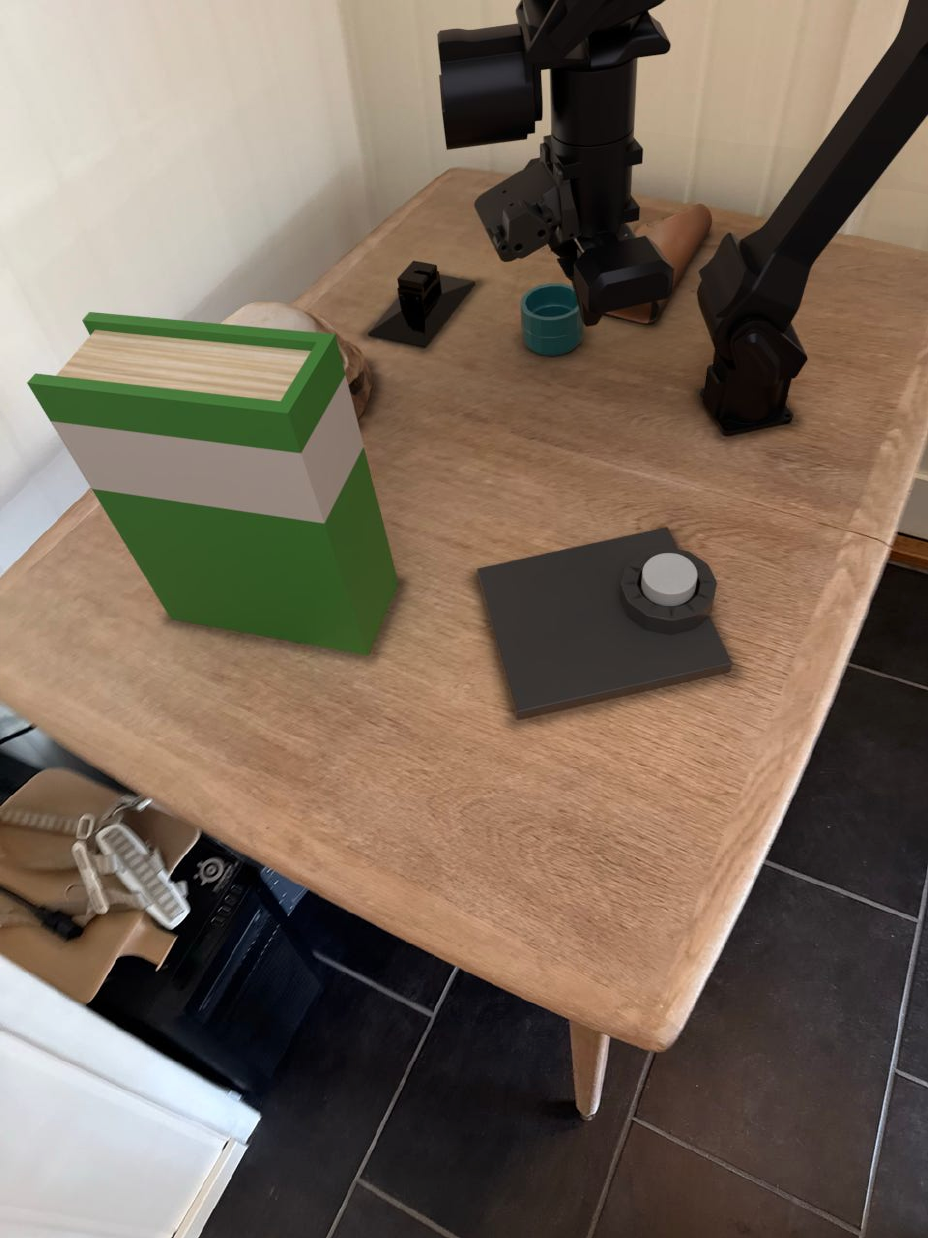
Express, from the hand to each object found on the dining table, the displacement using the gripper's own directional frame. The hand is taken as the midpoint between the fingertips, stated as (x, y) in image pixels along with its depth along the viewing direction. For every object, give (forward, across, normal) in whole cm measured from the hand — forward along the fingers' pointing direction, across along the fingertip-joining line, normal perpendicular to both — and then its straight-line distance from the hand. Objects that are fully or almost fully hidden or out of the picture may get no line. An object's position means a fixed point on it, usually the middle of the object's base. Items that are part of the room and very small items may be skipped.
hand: (589, 323), depth 73 cm
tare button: (+8, +22, -1) cm, 24 cm away
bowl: (+11, -14, +1) cm, 18 cm away
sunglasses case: (+11, -22, +14) cm, 28 cm away
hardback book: (+11, +12, -30) cm, 34 cm away
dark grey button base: (+11, +22, -6) cm, 25 cm away
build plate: (+11, -24, -11) cm, 29 cm away
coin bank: (+11, -11, -26) cm, 30 cm away
